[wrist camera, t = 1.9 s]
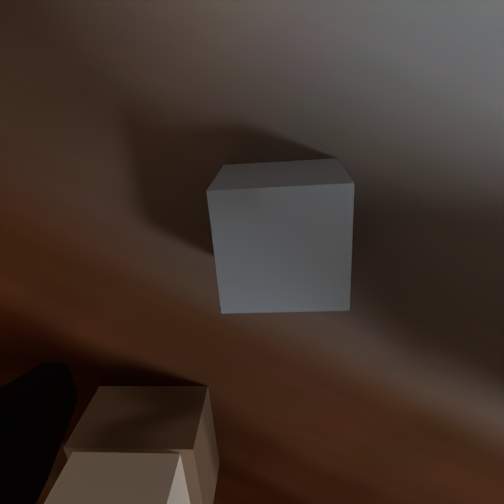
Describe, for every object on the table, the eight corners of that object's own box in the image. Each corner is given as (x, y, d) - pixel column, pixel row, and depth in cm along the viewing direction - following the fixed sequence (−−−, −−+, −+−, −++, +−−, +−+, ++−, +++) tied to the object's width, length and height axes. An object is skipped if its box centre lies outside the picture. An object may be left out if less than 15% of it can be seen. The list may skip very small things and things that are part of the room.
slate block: (337, 157, 15) (354, 183, 11) (334, 260, 17) (349, 310, 13) (224, 164, 15) (206, 190, 12) (234, 264, 17) (221, 313, 14)
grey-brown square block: (208, 383, 20) (192, 449, 17) (219, 460, 23) (208, 532, 19) (100, 383, 21) (63, 447, 17) (123, 459, 23) (94, 528, 20)
